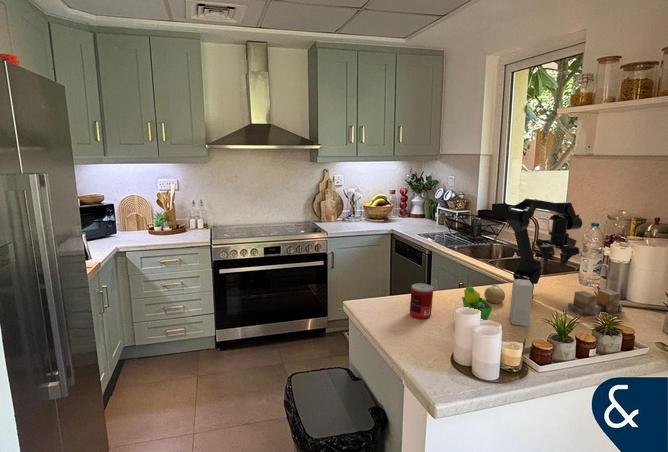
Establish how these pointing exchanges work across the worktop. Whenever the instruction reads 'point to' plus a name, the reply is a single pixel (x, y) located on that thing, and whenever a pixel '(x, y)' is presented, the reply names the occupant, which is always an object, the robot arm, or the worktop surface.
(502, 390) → the worktop surface
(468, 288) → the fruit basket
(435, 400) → the worktop surface
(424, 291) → the canned food
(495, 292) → the onion
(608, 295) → the taupe stone cube
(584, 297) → the grey stone block
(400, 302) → the worktop surface
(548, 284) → the worktop surface
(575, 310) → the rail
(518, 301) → the skincare box
